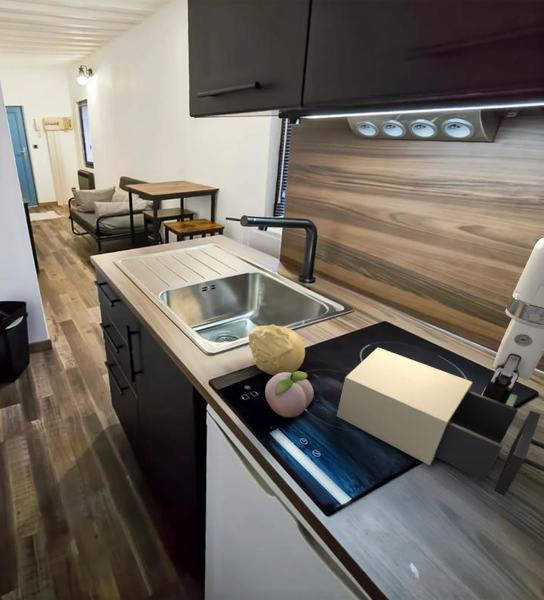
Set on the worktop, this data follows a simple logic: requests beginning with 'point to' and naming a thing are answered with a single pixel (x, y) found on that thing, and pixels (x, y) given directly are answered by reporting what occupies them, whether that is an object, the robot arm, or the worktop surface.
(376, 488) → the worktop surface
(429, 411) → the cream rectangular box
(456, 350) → the worktop surface
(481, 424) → the dark grey drawer
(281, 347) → the tan lumpy ball
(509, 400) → the block
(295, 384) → the decorative fruit
